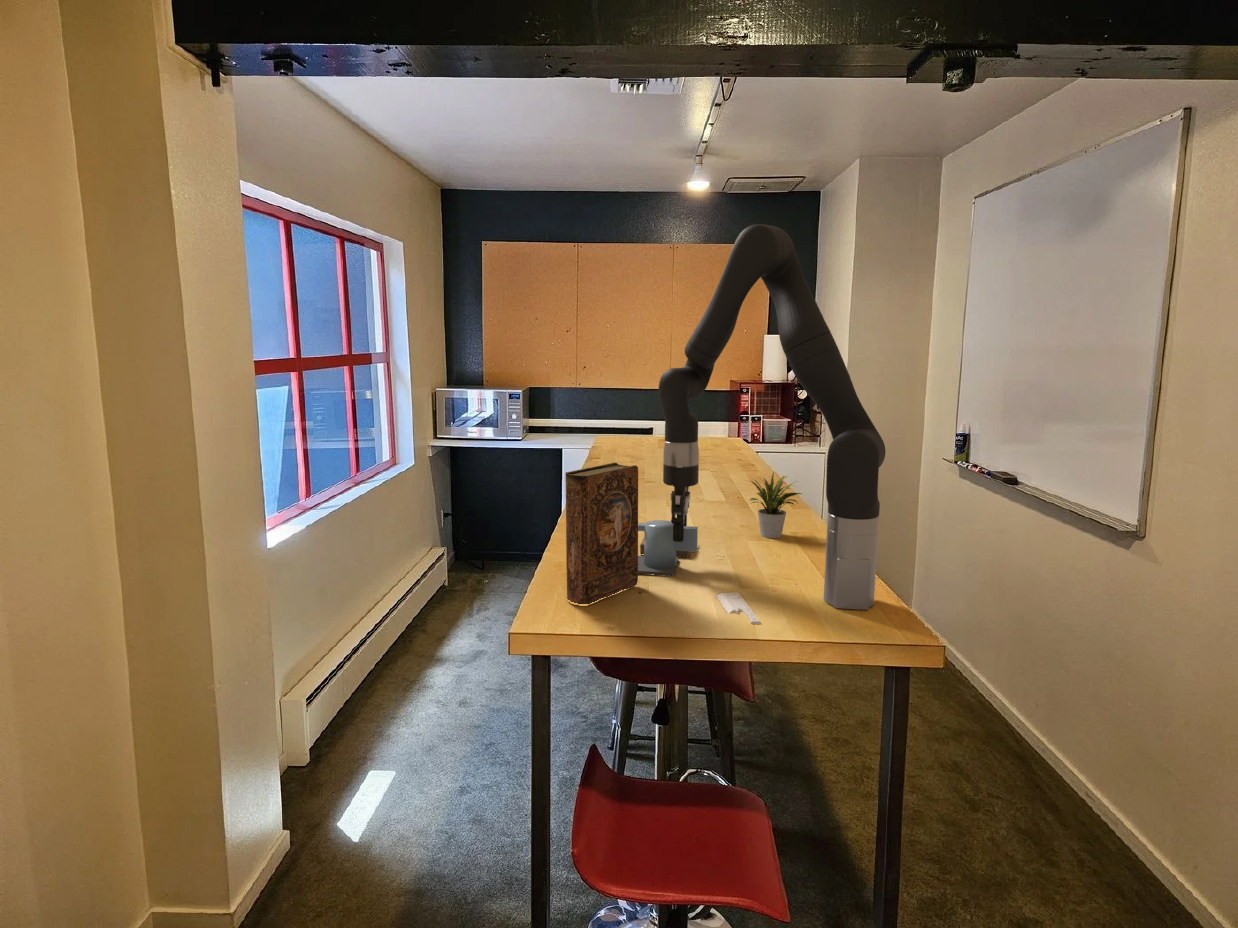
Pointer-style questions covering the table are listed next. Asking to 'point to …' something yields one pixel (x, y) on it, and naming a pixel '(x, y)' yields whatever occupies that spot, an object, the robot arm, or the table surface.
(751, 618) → the white plastic strip tool
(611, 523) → the book
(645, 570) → the mat
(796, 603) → the table surface
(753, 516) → the table surface
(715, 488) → the table surface
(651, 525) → the jug
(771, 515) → the house plant
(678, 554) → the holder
